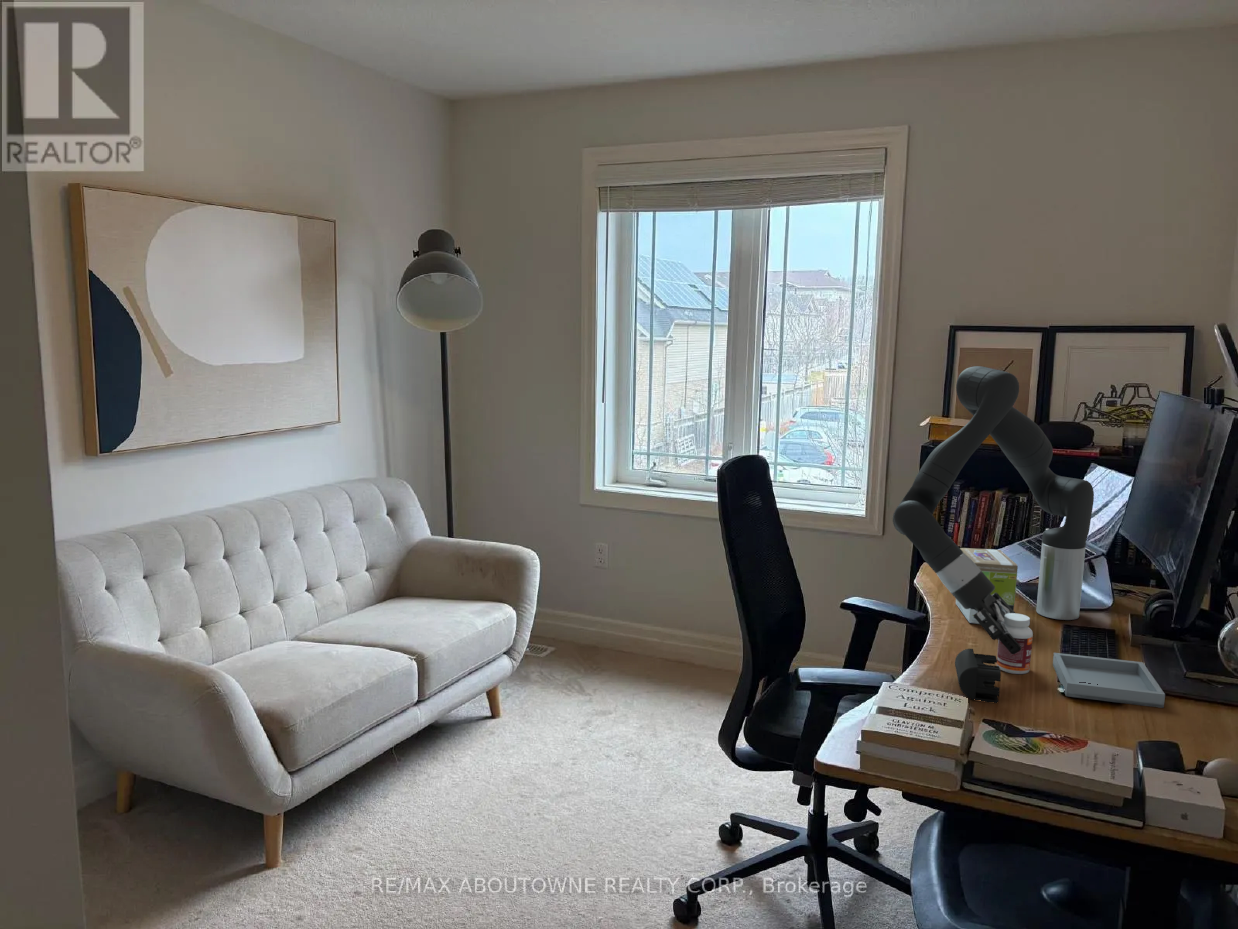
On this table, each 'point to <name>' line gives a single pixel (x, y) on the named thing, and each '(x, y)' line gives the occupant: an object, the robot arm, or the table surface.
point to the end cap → (978, 675)
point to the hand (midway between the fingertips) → (1021, 645)
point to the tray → (1108, 680)
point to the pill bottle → (1023, 636)
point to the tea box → (993, 576)
